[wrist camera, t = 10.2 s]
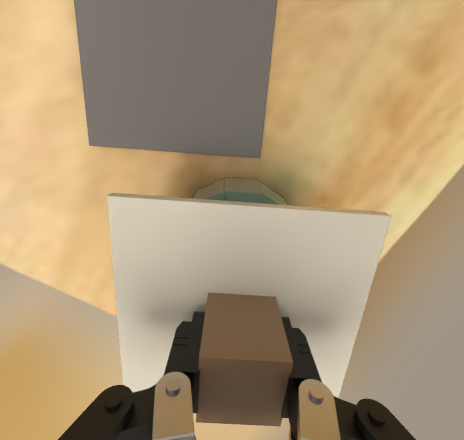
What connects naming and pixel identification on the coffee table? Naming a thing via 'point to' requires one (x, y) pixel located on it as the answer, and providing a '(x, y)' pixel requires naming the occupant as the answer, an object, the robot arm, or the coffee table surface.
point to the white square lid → (240, 293)
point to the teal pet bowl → (240, 192)
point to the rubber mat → (176, 73)
